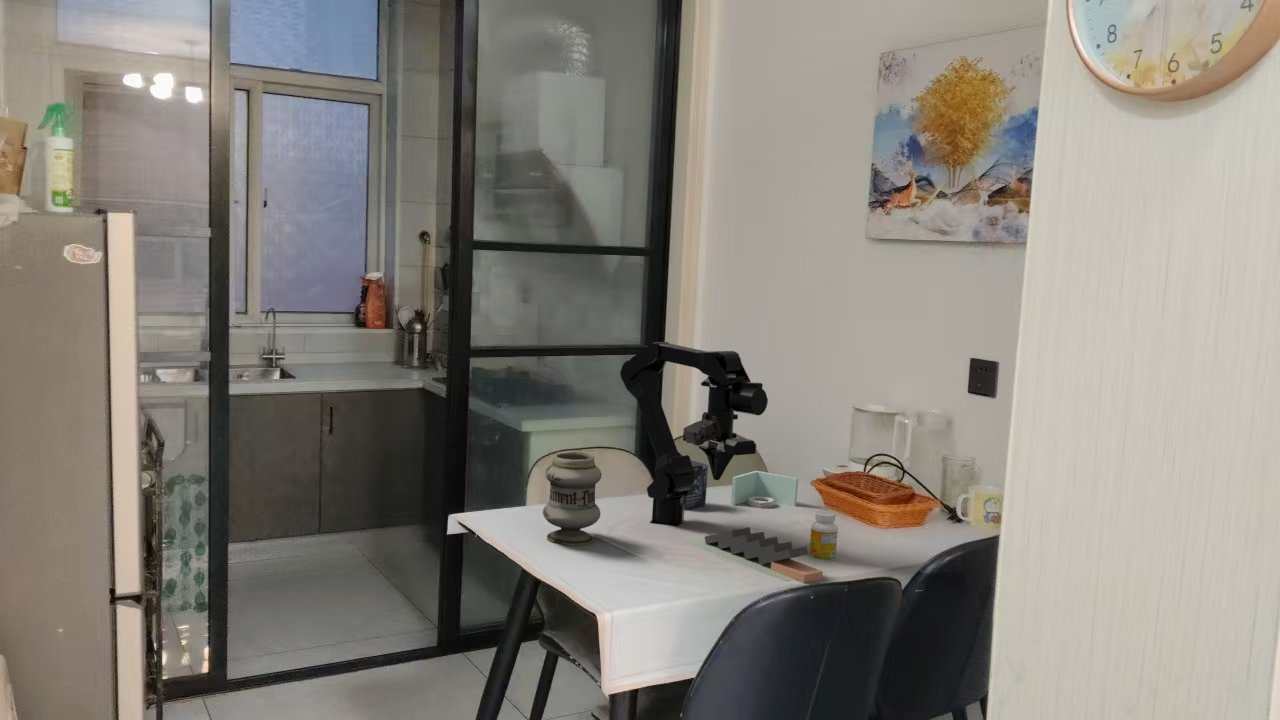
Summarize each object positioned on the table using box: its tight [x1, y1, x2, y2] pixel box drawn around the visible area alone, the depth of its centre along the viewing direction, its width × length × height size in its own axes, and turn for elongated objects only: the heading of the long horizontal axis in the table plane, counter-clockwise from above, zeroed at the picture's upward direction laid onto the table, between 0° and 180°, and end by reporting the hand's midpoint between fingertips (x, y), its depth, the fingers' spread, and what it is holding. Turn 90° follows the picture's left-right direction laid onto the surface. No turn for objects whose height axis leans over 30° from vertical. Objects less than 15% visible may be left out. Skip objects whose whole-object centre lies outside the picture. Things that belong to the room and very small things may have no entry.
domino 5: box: [758, 545, 809, 565], centre depth 207 cm, size 2×5×9 cm
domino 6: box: [771, 558, 824, 584], centre depth 204 cm, size 2×5×9 cm
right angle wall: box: [730, 470, 799, 509], centre depth 263 cm, size 12×12×8 cm
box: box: [682, 460, 709, 511], centre depth 257 cm, size 8×6×11 cm
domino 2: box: [718, 531, 766, 549], centre depth 217 cm, size 2×5×9 cm
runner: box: [685, 538, 796, 582], centre depth 214 cm, size 30×10×1 cm, turn 36°
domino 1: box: [704, 526, 752, 544], centre depth 220 cm, size 2×5×9 cm
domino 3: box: [730, 536, 779, 554], centre depth 213 cm, size 2×5×9 cm
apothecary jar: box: [542, 451, 602, 546], centre depth 221 cm, size 12×12×18 cm
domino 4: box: [744, 541, 794, 560], centre depth 210 cm, size 2×5×9 cm
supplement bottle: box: [808, 510, 838, 562], centre depth 217 cm, size 5×5×10 cm
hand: (716, 479), depth 229 cm, fingers closed
